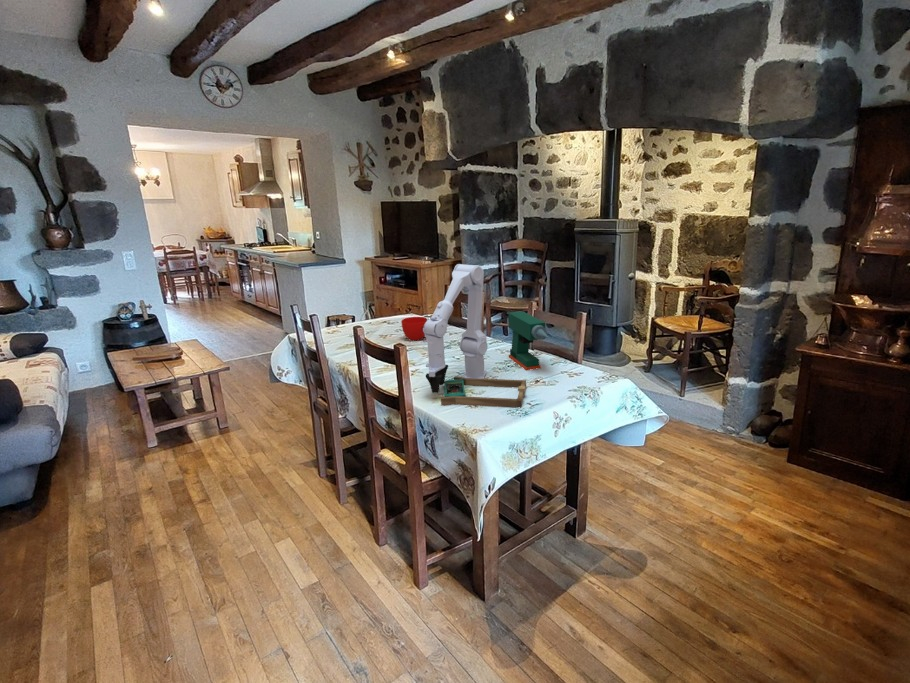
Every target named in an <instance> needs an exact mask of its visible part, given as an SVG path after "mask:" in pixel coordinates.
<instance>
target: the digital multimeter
mask: <svg viewBox="0 0 910 683" xmlns="http://www.w3.org/2000/svg"><path fill="white" fill-rule="evenodd" d="M443 386H444V397H450V396H455V397H456V396H467V394H466V390H465V387H464V386H465V385H464V381H463V380H454V379H447V380H446V379H445V381H444V385H443Z"/></svg>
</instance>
